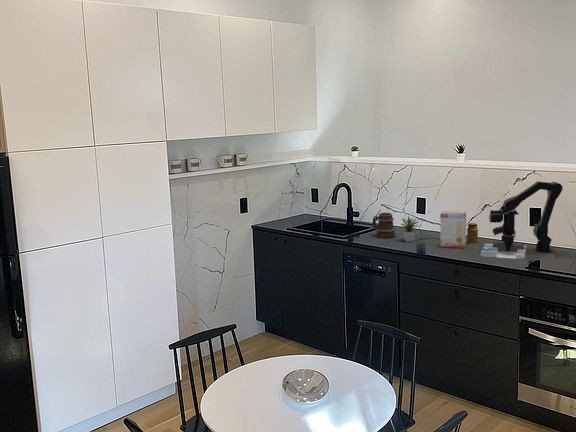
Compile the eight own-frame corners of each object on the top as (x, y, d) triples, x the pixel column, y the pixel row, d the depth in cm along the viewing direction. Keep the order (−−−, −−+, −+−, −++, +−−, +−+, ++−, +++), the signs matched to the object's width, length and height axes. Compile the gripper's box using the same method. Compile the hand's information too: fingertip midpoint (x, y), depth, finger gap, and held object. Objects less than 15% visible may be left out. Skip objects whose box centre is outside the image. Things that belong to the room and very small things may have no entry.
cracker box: (466, 246, 351) (466, 211, 347) (464, 248, 345) (465, 213, 341) (442, 244, 356) (442, 210, 353) (440, 247, 351) (440, 212, 347)
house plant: (410, 244, 360) (410, 218, 357) (392, 241, 370) (392, 215, 367) (424, 240, 369) (424, 214, 366) (406, 237, 379) (406, 212, 376)
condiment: (480, 243, 355) (481, 223, 353) (471, 245, 351) (471, 225, 349) (470, 241, 361) (471, 222, 359) (461, 243, 357) (461, 224, 355)
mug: (398, 235, 386) (398, 212, 383) (389, 239, 376) (389, 216, 374) (376, 233, 395) (376, 211, 393) (367, 236, 386) (367, 214, 383)
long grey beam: (523, 250, 330) (524, 243, 330) (523, 252, 327) (523, 245, 326) (493, 249, 337) (493, 242, 336) (492, 250, 333) (492, 243, 333)
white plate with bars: (526, 251, 334) (526, 243, 333) (524, 260, 314) (524, 252, 313) (484, 248, 343) (485, 241, 342) (480, 258, 323) (480, 250, 322)
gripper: (495, 218, 341) (494, 245, 343) (492, 225, 324) (491, 252, 327) (515, 219, 336) (515, 246, 339) (513, 225, 319) (513, 254, 322)
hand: (508, 249), depth 332 cm, fingers open, 8 cm apart
